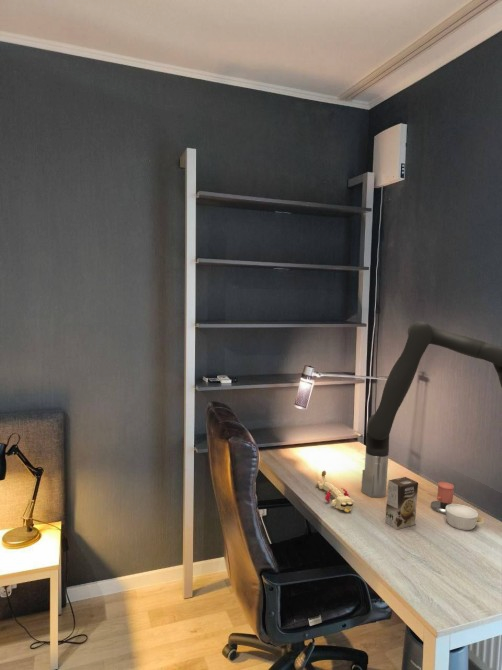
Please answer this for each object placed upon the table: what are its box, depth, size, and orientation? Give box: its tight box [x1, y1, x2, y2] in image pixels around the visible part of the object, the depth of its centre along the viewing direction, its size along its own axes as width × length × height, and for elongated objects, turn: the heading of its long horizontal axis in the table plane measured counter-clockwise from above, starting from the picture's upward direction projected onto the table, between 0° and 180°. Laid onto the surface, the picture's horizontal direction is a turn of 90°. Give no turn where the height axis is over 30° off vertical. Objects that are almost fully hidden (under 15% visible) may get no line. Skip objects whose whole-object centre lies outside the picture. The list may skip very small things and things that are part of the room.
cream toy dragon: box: [315, 470, 355, 513], centre depth 187 cm, size 10×9×25 cm
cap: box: [436, 481, 455, 504], centre depth 182 cm, size 8×6×6 cm
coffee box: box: [384, 476, 419, 530], centre depth 169 cm, size 9×6×16 cm
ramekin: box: [445, 503, 479, 531], centre depth 171 cm, size 11×11×5 cm
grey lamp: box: [430, 500, 453, 515], centre depth 182 cm, size 10×10×9 cm
